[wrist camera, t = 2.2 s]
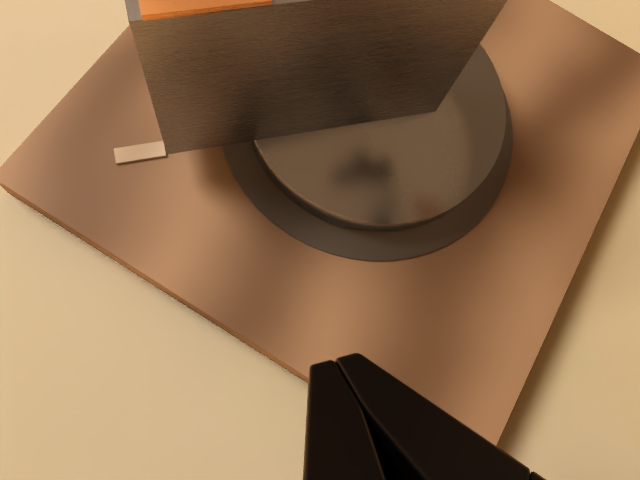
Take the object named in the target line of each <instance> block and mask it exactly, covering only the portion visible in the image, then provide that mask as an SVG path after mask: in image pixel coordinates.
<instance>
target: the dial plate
mask: <svg viewBox="0 0 640 480" xmlns="http://www.w3.org/2000/svg"><path fill="white" fill-rule="evenodd" d="M480 44H481V46H482V47H483V48H484V49H485V51H486V53H487V54H488V56H489V58H490V59H491V61H492V63H493V65H494V67H495V69H496V72H497V74H498V76H499V79H500V82H501V86H502V89H503V93H504V99H505V106H506V126H505V134H504V139H503V143H502V146H501V150H500V153H499V155H498V157H497V159H496V161H495V164H494V166H493V167H492V169H491V170H490V172H489V173H488V175H487V176H486V178H485V179H484V180H483V181H482V183H481V184H480V185H479V186H478V187H477V188H476V189H475V190H474V191H473V192H472V193H471V194H470V195H469V196H468V197H467V198H466V199H465V200H464V201H463V202H461V203H460V204H459V205H458V206H457V207H455V208H454V209H453V210H452V211H450V212H449V213H447V214H446V215H444V216H442V217H441V218H439V219H437V220H435V221H433V222H430V223H428V224H426V225H423V226H420V227H416V228H412V229H409V230H403V231H396V232H366V231H358V230H353V229H349V228H345V227H341V226H337V225H335V224H332V223H330V222H327V221H324V220H322V219H320V218H318V217H316V216H314V215H313V214H311V213H309V212H307V211H305V210H304V209H303V208H301V207H300V206H298V205H297V204H295V203H294V202H293V201H291V200H290V199H289V198H288V197H287V196H286V195H285V194H284V193H283V192H281V191H280V190H279V189H278V188H277V186H276V185H275V184H274V183H273V182H272V180H271V179H270V178H269V177H268V176H267V174H266V173H265V171H264V169H263V168H262V166H261V165H260V163H259V162H258V159H257V157H256V155H255V153H254V151H253V149H252V147H251V143H250V141H248V142H242V143H236V144H230V145H224V146H217V147H211V148H205V149H199V150H192V151H186V152H180V153H174V154H168V155H167V153H166V149H165V146H164V142H163V139H162V135H161V132H160V129H159V125H158V122H157V118H156V115H155V111H154V108H153V104H152V101H151V97H150V94H149V90H148V87H147V83H146V80H145V76H144V73H143V69H142V66H141V62H140V59H139V55H138V52H137V48H136V45H135V41H134V38H133V34H132V31H131V27H130V25H129V26H128V27H127V28H126V30H125V31H124V32H123V33H122V34H121V35H120V36H119V37H118V38H117V39H116V41H115V42H114V43H113V44H112V45H111V46H110V47H109V48H108V49H107V50H106V52H105V53H104V54H103V55H102V56H101V57H100V58H99V59H98V60H97V61H96V63H95V64H94V65H93V66H92V67H91V68H90V69H89V70H88V71H87V72H86V74H85V75H84V76H83V77H82V78H81V79H80V80H79V81H78V82H77V83H76V85H75V86H74V87H73V88H72V89H71V90H70V91H69V92H68V93H67V94H66V96H65V97H64V98H63V99H62V100H61V101H60V102H59V103H58V104H57V105H56V107H55V108H54V109H53V110H52V111H51V112H50V113H49V114H48V115H47V116H46V118H45V119H44V120H43V121H42V122H41V123H40V124H39V125H38V126H37V127H36V129H35V130H34V131H33V132H32V133H31V134H30V135H29V136H28V137H27V138H26V140H25V141H24V142H23V143H22V144H21V145H20V146H19V147H18V148H17V149H16V151H15V152H14V153H13V154H12V155H11V156H10V157H9V158H8V159H7V160H6V162H5V163H4V164H3V165H2V166H1V167H0V185H1V186H2V187H3V188H4V189H5V190H6V191H7V192H8V193H10V194H11V195H13V196H14V197H16V198H17V199H19V200H21V201H22V202H24V203H25V204H27V205H28V206H30V207H32V208H33V209H35V210H36V211H38V212H39V213H41V214H43V215H44V216H46V217H47V218H49V219H50V220H52V221H54V222H55V223H57V224H58V225H60V226H62V227H63V228H65V229H66V230H68V231H69V232H71V233H73V234H74V235H76V236H77V237H79V238H80V239H82V240H84V241H85V242H87V243H88V244H90V245H91V246H93V247H95V248H96V249H98V250H99V251H101V252H102V253H104V254H106V255H107V256H109V257H110V258H112V259H114V260H115V261H117V262H118V263H120V264H121V265H123V266H125V267H126V268H128V269H129V270H131V271H132V272H134V273H136V274H137V275H139V276H140V277H142V278H143V279H145V280H147V281H148V282H150V283H151V284H153V285H155V286H156V287H158V288H159V289H161V290H162V291H164V292H166V293H167V294H169V295H170V296H172V297H173V298H175V299H177V300H178V301H180V302H181V303H183V304H184V305H186V306H188V307H189V308H191V309H192V310H194V311H195V312H197V313H199V314H200V315H202V316H203V317H205V318H207V319H208V320H210V321H211V322H213V323H214V324H216V325H218V326H219V327H221V328H222V329H224V330H225V331H227V332H229V333H230V334H232V335H233V336H235V337H236V338H238V339H240V340H241V341H243V342H244V343H246V344H247V345H249V346H251V347H252V348H254V349H255V350H257V351H259V352H260V353H262V354H263V355H265V356H266V357H268V358H270V359H271V360H273V361H274V362H276V363H277V364H279V365H281V366H282V367H284V368H285V369H287V370H288V371H290V372H292V373H293V374H295V375H296V376H298V377H300V378H301V379H303V380H304V381H306V382H307V383H308V382H309V368H310V366H311V365H313V364H316V363H320V362H323V361H327V360H333V361H334V362H335V360H336V359H337V358H338V357H342V356H345V355H349V354H353V353H359V354H362V355H363V356H365V357H366V358H368V359H369V360H370V361H372V362H373V363H375V364H376V365H378V366H379V367H381V368H382V369H384V370H385V371H387V372H388V373H390V374H391V375H392V376H394V377H395V378H397V379H398V380H400V381H401V382H403V383H404V384H406V385H407V386H409V387H410V388H412V389H413V390H415V391H416V392H417V393H419V394H420V395H422V396H423V397H425V398H426V399H428V400H429V401H431V402H432V403H434V404H435V405H437V406H438V407H440V408H441V409H442V410H444V411H445V412H447V413H448V414H450V415H451V416H453V417H454V418H456V419H457V420H459V421H460V422H462V423H463V424H465V425H466V426H467V427H469V428H470V429H472V430H473V431H475V432H476V433H478V434H479V435H481V436H482V437H484V438H485V439H487V440H488V441H489V442H491V443H492V444H494V445H495V446H496V445H497V443H498V441H499V438H500V436H501V434H502V432H503V430H504V427H505V425H506V423H507V421H508V419H509V416H510V414H511V412H512V410H513V408H514V405H515V403H516V401H517V399H518V397H519V394H520V392H521V390H522V388H523V386H524V383H525V381H526V379H527V377H528V374H529V372H530V370H531V368H532V366H533V363H534V361H535V359H536V357H537V355H538V352H539V350H540V348H541V346H542V344H543V341H544V339H545V337H546V335H547V333H548V330H549V328H550V326H551V324H552V322H553V319H554V317H555V315H556V313H557V311H558V308H559V306H560V304H561V302H562V300H563V297H564V295H565V293H566V291H567V289H568V286H569V284H570V282H571V280H572V278H573V275H574V273H575V271H576V269H577V266H578V264H579V262H580V260H581V258H582V255H583V253H584V251H585V249H586V247H587V244H588V242H589V240H590V238H591V236H592V233H593V231H594V229H595V227H596V225H597V222H598V220H599V218H600V216H601V214H602V211H603V209H604V207H605V205H606V203H607V200H608V198H609V196H610V194H611V192H612V189H613V187H614V185H615V183H616V181H617V178H618V176H619V174H620V172H621V169H622V167H623V165H624V163H625V161H626V158H627V156H628V154H629V152H630V150H631V147H632V145H633V143H634V141H635V139H636V136H637V134H638V132H639V130H640V54H639V53H638V52H636V51H634V50H633V49H631V48H629V47H628V46H626V45H624V44H623V43H621V42H619V41H617V40H616V39H614V38H612V37H611V36H609V35H607V34H606V33H604V32H602V31H600V30H599V29H597V28H595V27H594V26H592V25H590V24H589V23H587V22H585V21H583V20H582V19H580V18H578V17H577V16H575V15H573V14H572V13H570V12H568V11H567V10H565V9H563V8H561V7H560V6H558V5H556V4H555V3H553V2H551V1H550V0H508V1H507V2H506V4H505V5H504V7H503V9H502V10H501V12H500V13H499V15H498V16H497V18H496V19H495V21H494V22H493V24H492V25H491V27H490V29H489V30H488V32H487V33H486V35H485V36H484V38H483V39H482V41H481V42H480Z"/></svg>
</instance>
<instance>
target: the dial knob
mask: <svg viewBox="0 0 640 480" xmlns="http://www.w3.org/2000/svg"><path fill="white" fill-rule="evenodd" d="M507 1H508V0H125V3H126V9H127V14H128V20H129V24H130V27H131V31H132V34H133V38H134V41H135V45H136V48H137V52H138V55H139V59H140V62H141V66H142V69H143V73H144V76H145V80H146V83H147V87H148V90H149V94H150V97H151V101H152V104H153V108H154V111H155V115H156V118H157V122H158V125H159V129H160V132H161V135H162V139H163V142H164V146H165V149H166V153H167V155H168V154H174V153H180V152H186V151H192V150H199V149H205V148H211V147H217V146H224V145H230V144H236V143H242V142H248V141H250V143H251V147H252V149H253V151H254V153H255V155H256V157H257V159H258V162H259V163H260V165H261V166H262V168H263V169H264V171H265V173H266V174H267V176H268V177H269V178H270V179H271V180H272V182H273V183H274V184H275V185H276V186H277V188H278V189H279V190H280V191H281V192H283V193H284V194H285V195H286V196H287V197H288V198H289V199H290V200H291V201H293V202H294V203H295V204H297V205H298V206H300V207H301V208H303V209H304V210H305V211H307V212H309V213H311V214H313V215H314V216H316V217H318V218H320V219H322V220H324V221H327V222H330V223H332V224H335V225H337V226H341V227H345V228H349V229H353V230H358V231H366V232H396V231H403V230H409V229H412V228H416V227H420V226H423V225H426V224H428V223H430V222H433V221H435V220H437V219H439V218H441V217H442V216H444V215H446V214H447V213H449V212H450V211H452V210H453V209H454V208H455V207H457V206H458V205H459V204H460V203H461V202H463V201H464V200H465V199H466V198H467V197H468V196H469V195H470V194H471V193H472V192H473V191H474V190H475V189H476V188H477V187H478V186H479V185H480V184H481V183H482V181H483V180H484V179H485V178H486V176H487V175H488V173H489V172H490V170H491V169H492V167H493V166H494V164H495V161H496V159H497V157H498V155H499V153H500V150H501V146H502V143H503V139H504V134H505V126H506V106H505V99H504V93H503V89H502V86H501V82H500V79H499V76H498V74H497V72H496V69H495V67H494V65H493V63H492V61H491V59H490V58H489V56H488V54H487V53H486V51H485V49H484V48H483V47H482V46H481V44H480V42H481V41H482V39H483V38H484V36H485V35H486V33H487V32H488V30H489V29H490V27H491V25H492V24H493V22H494V21H495V19H496V18H497V16H498V15H499V13H500V12H501V10H502V9H503V7H504V5H505V4H506V2H507Z"/></svg>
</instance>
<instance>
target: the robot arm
mask: <svg viewBox="0 0 640 480" xmlns="http://www.w3.org/2000/svg"><path fill="white" fill-rule="evenodd" d="M303 480H546V479H544V478H543V477H541V476H540V475H538V474H537V473H535V472H531V473H530V470H529V468H528V467H526V466H525V465H523V464H522V463H520V462H519V461H517V460H516V459H514V458H513V457H512V456H510V455H509V454H507V453H506V452H504V451H503V450H501V449H500V448H498V447H497V446H495V445H494V444H492V443H491V442H489V441H488V440H487V439H485V438H484V437H482V436H481V435H479V434H478V433H476V432H475V431H473V430H472V429H470V428H469V427H467V426H466V425H465V424H463V423H462V422H460V421H459V420H457V419H456V418H454V417H453V416H451V415H450V414H448V413H447V412H445V411H444V410H442V409H441V408H440V407H438V406H437V405H435V404H434V403H432V402H431V401H429V400H428V399H426V398H425V397H423V396H422V395H420V394H419V393H417V392H416V391H415V390H413V389H412V388H410V387H409V386H407V385H406V384H404V383H403V382H401V381H400V380H398V379H397V378H395V377H394V376H392V375H391V374H390V373H388V372H387V371H385V370H384V369H382V368H381V367H379V366H378V365H376V364H375V363H373V362H372V361H370V360H369V359H368V358H366V357H365V356H363V355H362V354H359V353H353V354H349V355H345V356H342V357H338V358H337V359H336V360H335V362H334V361H333V360H327V361H323V362H320V363H316V364H313V365H311V366H310V368H309V382H308V399H307V416H306V434H305V451H304V469H303Z"/></svg>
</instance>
